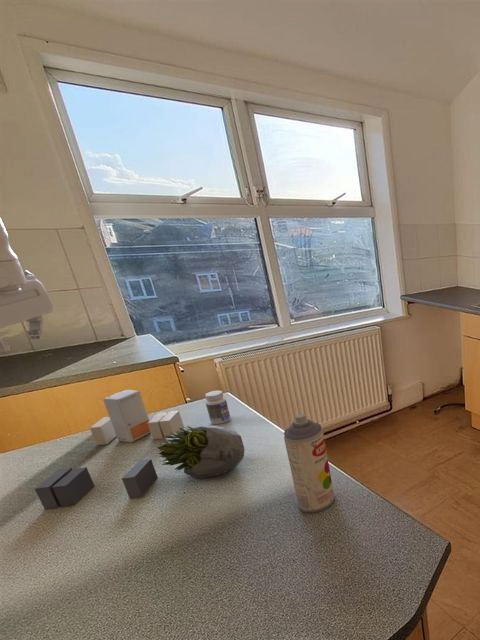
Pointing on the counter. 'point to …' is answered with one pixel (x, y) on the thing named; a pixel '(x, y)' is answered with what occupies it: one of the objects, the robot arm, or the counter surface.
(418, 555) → the counter surface
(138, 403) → the cosmetic box
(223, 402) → the pill bottle
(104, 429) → the white blocks
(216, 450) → the potted plant
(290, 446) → the aerosol can
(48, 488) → the dark grey blocks
